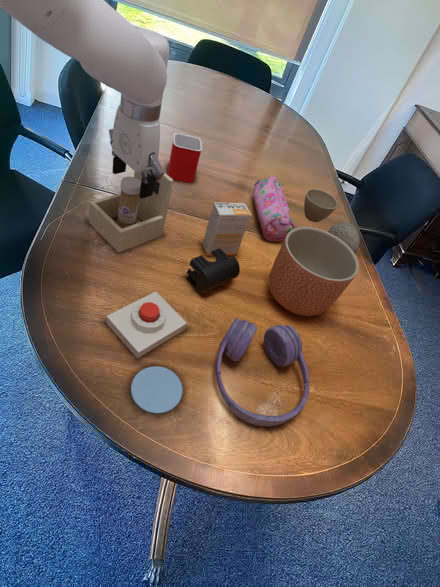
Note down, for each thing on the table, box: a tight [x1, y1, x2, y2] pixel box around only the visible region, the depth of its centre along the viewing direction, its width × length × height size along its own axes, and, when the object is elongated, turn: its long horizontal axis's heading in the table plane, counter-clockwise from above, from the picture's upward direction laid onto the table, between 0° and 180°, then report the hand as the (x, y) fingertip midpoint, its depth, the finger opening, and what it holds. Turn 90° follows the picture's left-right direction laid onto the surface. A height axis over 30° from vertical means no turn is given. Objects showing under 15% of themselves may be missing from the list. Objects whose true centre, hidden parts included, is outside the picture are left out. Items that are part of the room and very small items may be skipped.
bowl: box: [303, 188, 339, 223], centre depth 118 cm, size 10×10×7 cm
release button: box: [139, 302, 160, 322], centre depth 73 cm, size 4×4×2 cm
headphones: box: [214, 317, 311, 427], centre depth 73 cm, size 18×8×20 cm
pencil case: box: [252, 175, 296, 242], centre depth 110 cm, size 21×9×9 cm, turn 4°
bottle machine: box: [88, 165, 175, 253], centre depth 88 cm, size 13×12×16 cm
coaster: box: [130, 365, 183, 415], centre depth 68 cm, size 9×9×1 cm
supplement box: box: [201, 201, 252, 257], centre depth 94 cm, size 8×5×13 cm, turn 108°
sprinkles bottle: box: [116, 176, 141, 229], centre depth 89 cm, size 5×5×14 cm
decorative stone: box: [327, 221, 360, 255], centre depth 107 cm, size 10×8×10 cm
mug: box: [167, 132, 203, 184], centre depth 115 cm, size 12×8×11 cm
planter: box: [268, 226, 360, 317], centre depth 88 cm, size 17×17×15 cm
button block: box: [105, 291, 188, 359], centre depth 75 cm, size 12×10×4 cm
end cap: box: [186, 248, 241, 293], centre depth 87 cm, size 10×7×7 cm
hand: (132, 184), depth 85 cm, fingers open, 9 cm apart
